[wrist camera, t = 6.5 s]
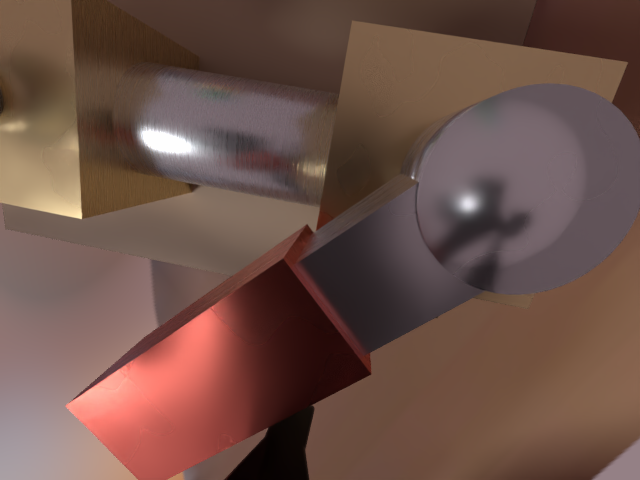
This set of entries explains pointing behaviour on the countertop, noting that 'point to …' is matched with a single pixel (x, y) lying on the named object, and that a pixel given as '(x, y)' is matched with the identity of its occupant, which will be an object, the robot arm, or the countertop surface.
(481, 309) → the countertop surface
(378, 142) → the pipe manifold
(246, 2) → the beige flat board
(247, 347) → the valve lever
